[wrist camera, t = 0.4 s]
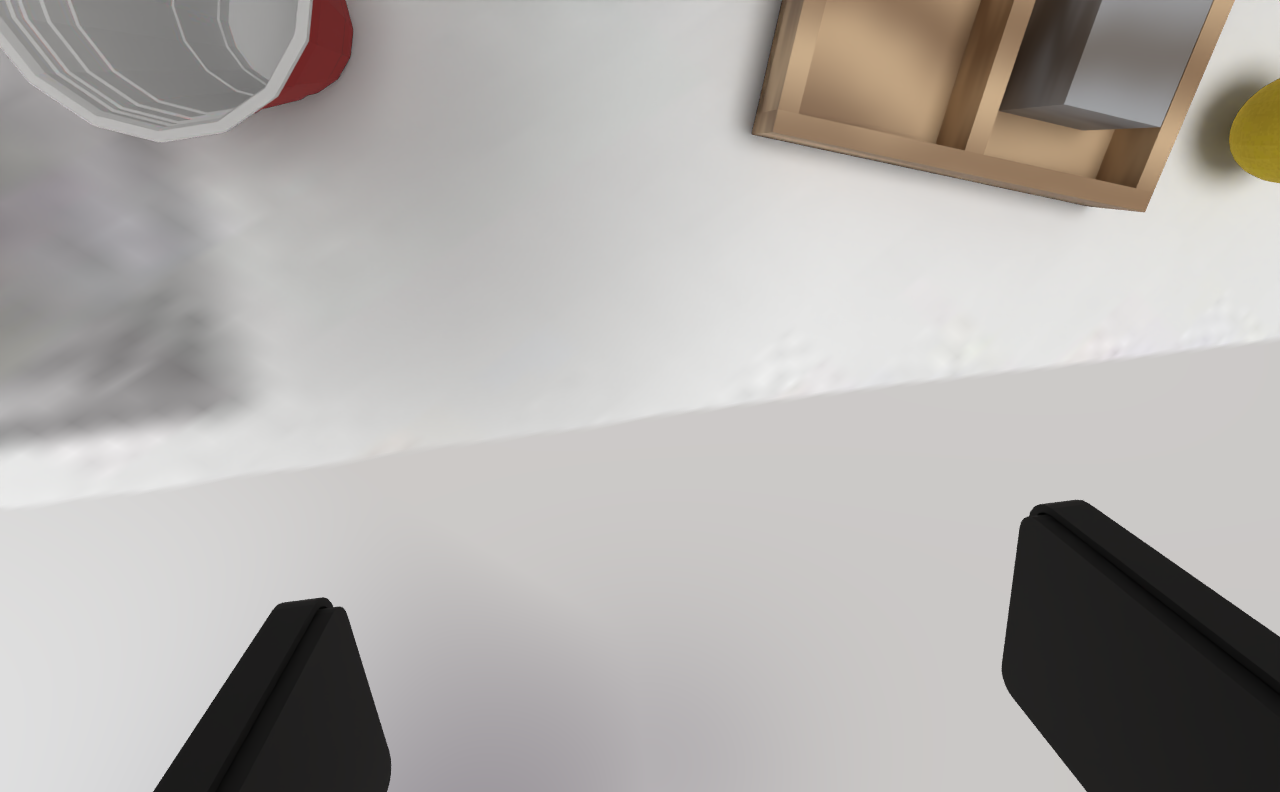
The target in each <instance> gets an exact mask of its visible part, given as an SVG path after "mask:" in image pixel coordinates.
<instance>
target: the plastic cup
mask: <svg viewBox="0 0 1280 792" xmlns="http://www.w3.org/2000/svg"><path fill="white" fill-rule="evenodd" d="M352 36H353V27H352V23H351V20H350V16H349V12H348V8H347V4H346V1H345V0H0V48H1V49H2V50H3V51H4V53H5V54H6V55H7V56H8V58H9V59H10V60H11V61H12V63H13V64H14V65H15V66H16V68H17V69H18V70H19V71H20V73H21V74H22V75H23V76H24V77H25V79H26V80H27V81H28V82H29V83H30V84H31V85H33V86H34V87H36V88H37V89H39V90H40V91H42V92H43V93H45V94H46V95H48V96H49V97H51V98H52V99H54V100H55V101H56V102H58V103H59V104H61V105H62V106H64V107H65V108H67V109H68V110H70V111H71V112H73V113H74V114H76V115H77V116H79V117H80V118H82V119H83V120H85V121H86V122H88V123H89V124H91V125H92V126H96V127H100V128H104V129H108V130H112V131H116V132H120V133H124V134H128V135H132V136H135V137H139V138H143V139H147V140H151V141H155V142H159V143H162V142H169V141H175V140H181V139H188V138H194V137H201V136H207V135H214V134H220V133H225V132H227V131H229V130H231V129H232V128H234V127H235V126H237V125H238V124H239V123H241V122H242V121H244V120H245V119H247V118H248V117H250V116H251V115H252V114H254V113H257V112H258V111H260V110H261V109H264V108H268V107H273V106H277V105H281V104H285V103H289V102H293V101H297V100H301V99H303V98H304V97H306V96H307V95H311V94H315V93H318V92H320V91H321V90H323V89H324V88H326V87H327V86H328V85H330V84H331V83H333V82H334V81H336V80H337V79H338V78H339V76H340V74H341V73H342V71H343V69H344V67H345V65H346V64H347V62H348V60H349V58H350V56H351V46H352Z"/></svg>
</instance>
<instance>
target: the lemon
mask: <svg viewBox="0 0 1280 792" xmlns="http://www.w3.org/2000/svg"><path fill="white" fill-rule="evenodd" d="M1229 145H1230V151H1231V153H1232V155H1233V157H1234V159H1235V161H1236V162H1237V163H1238V164H1239V165H1240V167H1241V168H1242V169H1243V170H1244V171H1246V172H1248V173H1249V174H1251V175H1253V176H1255V177H1257V178H1260V179H1262V180H1266V181H1270V182H1276V183H1280V78H1279V79H1277V80H1275V81H1274V82H1272V83H1270V84H1268V85H1267V86H1265V87H1263V88H1262V89H1260V90H1259V91H1258V92H1257V93H1255V94H1254V95H1253V96H1252V97H1251V98H1250V99H1249V100H1248V101H1247V102H1246V103H1245V104H1244V105H1243V106H1242V108H1241V109H1240V110H1239V112H1238V114H1237V115H1236V117H1235V119H1234V121H1233V123H1232V126H1231V129H1230V135H1229Z"/></svg>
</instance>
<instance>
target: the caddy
mask: <svg viewBox="0 0 1280 792" xmlns="http://www.w3.org/2000/svg"><path fill="white" fill-rule="evenodd" d="M1234 1H1235V0H782V3H781V7H780V12H779V16H778V21H777V25H776V29H775V34H774V38H773V42H772V47H771V51H770V56H769V60H768V64H767V69H766V73H765V77H764V82H763V86H762V91H761V95H760V99H759V104H758V108H757V112H756V117H755V121H754V126H753V130H752V134H753V135H757V136H762V137H767V138H771V139H776V140H781V141H785V142H790V143H795V144H799V145H804V146H809V147H813V148H818V149H823V150H827V151H832V152H837V153H841V154H846V155H851V156H855V157H860V158H865V159H869V160H874V161H879V162H883V163H888V164H893V165H898V166H902V167H907V168H912V169H916V170H921V171H926V172H930V173H935V174H940V175H944V176H949V177H954V178H958V179H963V180H968V181H972V182H977V183H982V184H986V185H991V186H996V187H1000V188H1005V189H1010V190H1014V191H1019V192H1024V193H1028V194H1033V195H1038V196H1042V197H1047V198H1052V199H1056V200H1061V201H1066V202H1070V203H1075V204H1080V205H1085V206H1090V207H1099V208H1109V209H1118V210H1128V211H1137V212H1145V211H1146V208H1147V206H1148V203H1149V201H1150V199H1151V196H1152V194H1153V192H1154V189H1155V187H1156V185H1157V182H1158V180H1159V178H1160V175H1161V173H1162V170H1163V168H1164V166H1165V163H1166V161H1167V159H1168V156H1169V154H1170V152H1171V149H1172V147H1173V145H1174V142H1175V140H1176V137H1177V135H1178V133H1179V130H1180V128H1181V126H1182V123H1183V121H1184V119H1185V116H1186V114H1187V112H1188V109H1189V107H1190V105H1191V102H1192V100H1193V97H1194V95H1195V93H1196V90H1197V88H1198V86H1199V83H1200V81H1201V79H1202V76H1203V74H1204V72H1205V69H1206V67H1207V64H1208V62H1209V60H1210V57H1211V55H1212V53H1213V50H1214V48H1215V46H1216V43H1217V41H1218V39H1219V36H1220V34H1221V31H1222V29H1223V27H1224V24H1225V22H1226V20H1227V17H1228V15H1229V13H1230V10H1231V8H1232V6H1233V3H1234Z"/></svg>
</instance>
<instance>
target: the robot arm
mask: <svg viewBox="0 0 1280 792" xmlns="http://www.w3.org/2000/svg"><path fill="white" fill-rule="evenodd" d="M1011 591H1012V592H1011V598H1010V606H1009V613H1008V621H1007V629H1006V637H1005V644H1004V652H1003V660H1002V675H1003V679H1004V682H1005V685H1006V687H1007V689H1008V691H1009V693H1010V694H1011V696H1012V697H1013V699H1014V700H1015V701H1016V702H1017V704H1018V705H1019V706H1020V707H1021V709H1022V710H1023V711H1024V712H1025V714H1026V715H1027V716H1028V718H1029V719H1030V720H1031V721H1032V722H1033V724H1034V725H1035V726H1036V728H1037V729H1038V730H1039V731H1040V732H1041V734H1042V735H1043V737H1044V738H1045V739H1046V740H1047V742H1048V743H1049V744H1050V745H1051V747H1052V748H1053V749H1054V750H1055V752H1056V753H1057V754H1058V756H1059V757H1060V758H1061V759H1062V761H1063V762H1064V763H1065V764H1066V766H1067V767H1068V768H1069V770H1070V771H1071V772H1072V773H1073V775H1074V776H1075V777H1076V778H1077V780H1078V781H1079V782H1080V783H1081V784H1082V786H1083V787H1084V788H1085V790H1086V791H1087V792H1280V637H1279V636H1278V635H1276V634H1275V633H1273V632H1272V631H1270V630H1269V629H1268V628H1266V627H1265V626H1263V625H1262V624H1261V623H1259V622H1258V621H1256V620H1255V619H1253V618H1252V617H1251V616H1249V615H1248V614H1246V613H1245V612H1243V611H1242V610H1240V609H1239V608H1238V607H1236V606H1235V605H1233V604H1232V603H1231V602H1229V601H1228V600H1226V599H1225V598H1223V597H1222V596H1220V595H1219V594H1218V593H1216V592H1215V591H1213V590H1212V589H1211V588H1209V587H1208V586H1206V585H1205V584H1203V583H1202V582H1200V581H1199V580H1198V579H1196V578H1195V577H1193V576H1192V575H1190V574H1189V573H1188V572H1186V571H1185V570H1183V569H1182V568H1180V567H1179V566H1178V565H1176V564H1175V563H1173V562H1172V561H1170V560H1169V559H1168V558H1166V557H1165V556H1163V555H1162V554H1160V553H1159V552H1158V551H1156V550H1155V549H1153V548H1152V547H1150V546H1149V545H1148V544H1146V543H1144V542H1143V541H1142V540H1140V539H1139V538H1137V537H1136V536H1135V535H1133V534H1132V533H1130V532H1129V531H1128V530H1126V529H1125V528H1123V527H1122V526H1120V525H1119V524H1118V523H1116V522H1115V521H1113V520H1112V519H1110V518H1109V517H1107V516H1106V515H1105V514H1103V513H1102V512H1100V511H1099V510H1097V509H1096V508H1095V507H1093V506H1091V505H1090V504H1088V503H1087V502H1085V501H1083V500H1071V501H1063V502H1055V503H1047V504H1040V505H1037V506H1035V507H1034V508H1033V509H1032V511H1031V512H1030V515H1029V517H1026V518H1024V519H1023V520H1022V522H1021V525H1020V529H1019V537H1018V544H1017V553H1016V560H1015V567H1014V575H1013V583H1012V590H1011ZM390 776H391V758H390V753H389V749H388V746H387V743H386V739H385V737H384V733H383V730H382V726H381V723H380V720H379V717H378V713H377V710H376V707H375V704H374V700H373V697H372V694H371V691H370V687H369V684H368V681H367V678H366V674H365V671H364V668H363V665H362V661H361V658H360V655H359V651H358V648H357V645H356V642H355V638H354V635H353V632H352V629H351V625H350V622H349V619H348V616H347V613H346V611H345V610H344V609H343V608H342V607H333V605H332V603H331V602H330V601H329V600H328V599H327V598H315V599H307V600H300V601H292V602H285V603H281V604H278V605H277V606H276V607H275V608H274V610H272V612H271V614H270V615H269V617H268V618H267V620H266V621H265V623H264V624H263V626H262V627H261V629H260V630H259V632H258V633H257V635H256V636H255V638H254V639H253V641H252V642H251V644H250V645H249V647H248V649H247V650H246V652H245V653H244V654H243V656H242V658H241V659H240V661H239V662H238V664H237V665H236V667H235V668H234V670H233V671H232V673H231V674H230V676H229V677H228V679H227V680H226V682H225V683H224V685H223V686H222V688H221V689H220V691H219V693H218V694H217V696H216V697H215V699H214V700H213V702H212V703H211V705H210V706H209V708H208V709H207V711H206V712H205V714H204V715H203V717H202V718H201V720H200V721H199V723H198V724H197V726H196V727H195V729H194V731H193V732H192V733H191V735H190V737H189V738H188V740H187V741H186V743H185V744H184V746H183V747H182V749H181V750H180V752H179V753H178V755H177V756H176V758H175V759H174V761H173V762H172V764H171V765H170V767H169V769H168V770H167V771H166V773H165V774H164V776H163V778H162V779H161V781H160V782H159V784H158V785H157V787H156V788H155V790H154V791H153V792H387V790H388V786H389V782H390Z"/></svg>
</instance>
